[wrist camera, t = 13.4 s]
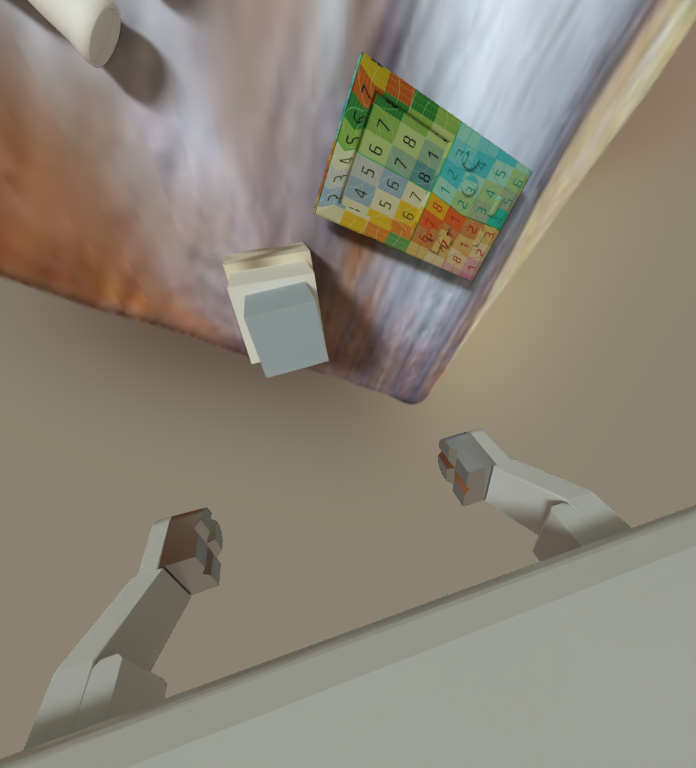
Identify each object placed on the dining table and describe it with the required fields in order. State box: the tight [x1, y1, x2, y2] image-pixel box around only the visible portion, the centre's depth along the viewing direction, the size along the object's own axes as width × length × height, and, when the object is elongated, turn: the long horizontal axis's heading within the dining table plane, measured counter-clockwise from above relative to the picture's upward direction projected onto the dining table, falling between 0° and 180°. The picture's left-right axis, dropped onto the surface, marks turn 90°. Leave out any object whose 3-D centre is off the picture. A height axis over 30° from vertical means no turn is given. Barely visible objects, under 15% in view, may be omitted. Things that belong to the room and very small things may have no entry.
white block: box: [227, 260, 326, 364], centre depth 29 cm, size 7×7×5 cm
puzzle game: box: [313, 52, 532, 282], centre depth 31 cm, size 12×5×20 cm
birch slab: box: [223, 242, 313, 282], centre depth 33 cm, size 8×8×5 cm
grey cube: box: [244, 281, 329, 378], centre depth 25 cm, size 5×5×5 cm
